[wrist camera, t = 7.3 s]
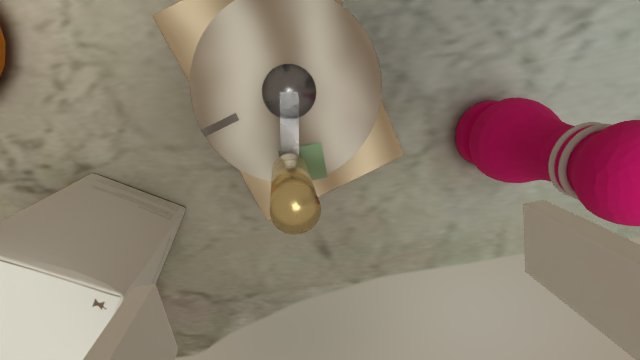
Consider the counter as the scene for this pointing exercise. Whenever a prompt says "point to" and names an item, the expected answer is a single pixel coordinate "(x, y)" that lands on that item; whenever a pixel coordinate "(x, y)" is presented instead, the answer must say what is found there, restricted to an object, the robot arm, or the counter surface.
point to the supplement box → (77, 265)
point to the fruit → (2, 51)
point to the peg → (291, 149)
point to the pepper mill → (556, 154)
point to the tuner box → (253, 66)
